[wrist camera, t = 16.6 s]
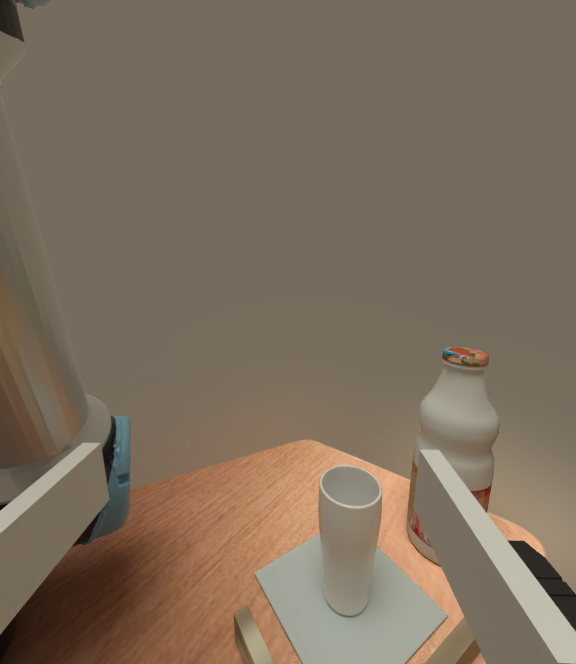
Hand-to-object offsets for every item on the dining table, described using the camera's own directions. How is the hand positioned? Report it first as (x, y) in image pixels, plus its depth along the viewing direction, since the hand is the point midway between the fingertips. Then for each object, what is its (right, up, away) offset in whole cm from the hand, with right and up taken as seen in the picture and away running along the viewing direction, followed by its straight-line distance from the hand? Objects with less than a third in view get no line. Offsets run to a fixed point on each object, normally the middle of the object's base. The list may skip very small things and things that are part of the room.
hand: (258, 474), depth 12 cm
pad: (+8, -25, +23) cm, 36 cm away
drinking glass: (+8, -25, +23) cm, 35 cm away
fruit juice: (+23, -24, +31) cm, 45 cm away
